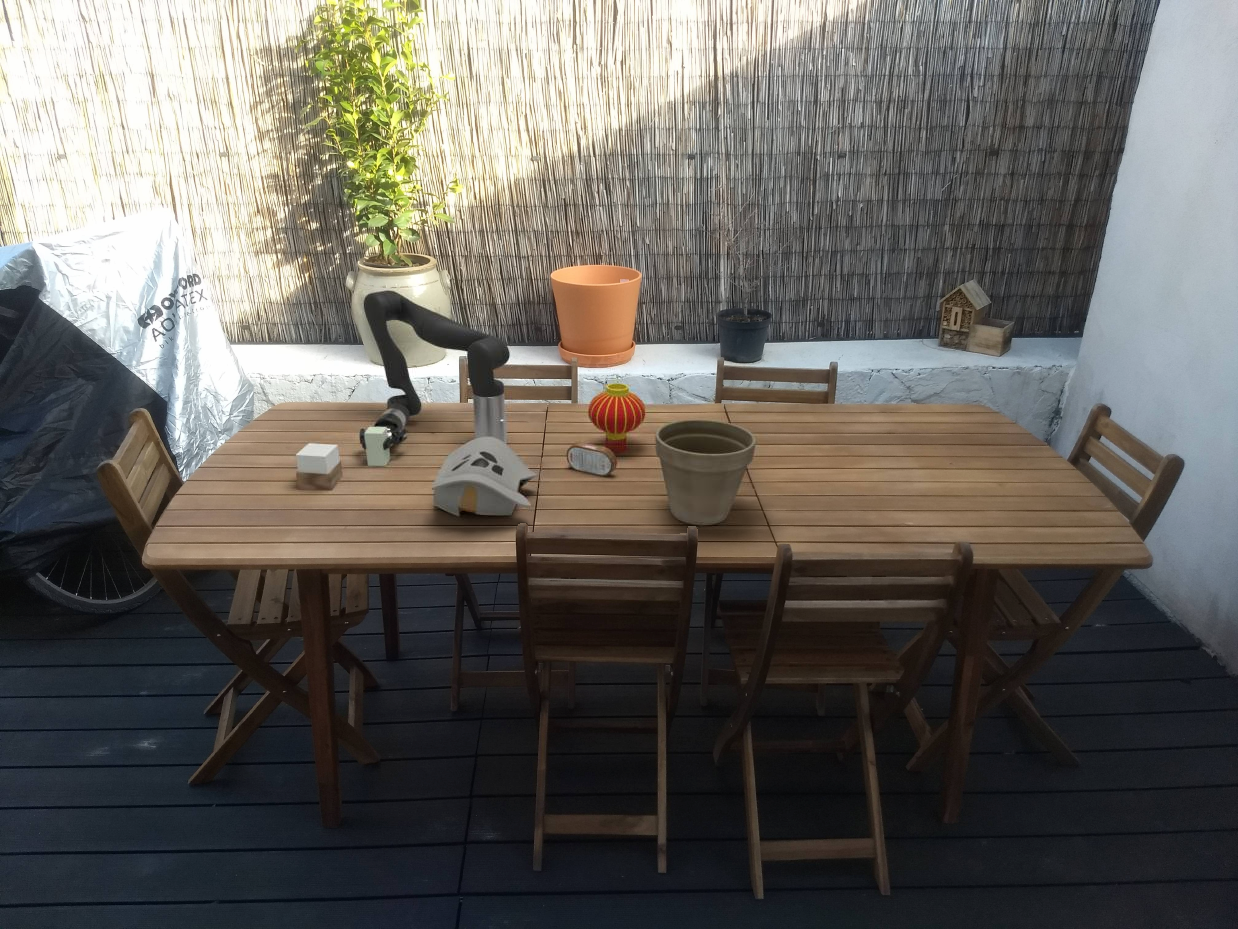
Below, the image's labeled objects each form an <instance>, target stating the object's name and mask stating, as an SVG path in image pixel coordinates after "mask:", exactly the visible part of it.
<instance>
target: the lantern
mask: <svg viewBox="0 0 1238 929" xmlns="http://www.w3.org/2000/svg"><path fill="white" fill-rule="evenodd" d="M617 357H619V353H618V354H617ZM616 379H617V381H616V383H615V382H614V383H609V384H607V385H606V387H605V388H606V389H605V391H602V392H600V393H598V394H597V395H595V396H594V397H593V398H592V399H591V401H590V402H589V405H588V411H587V415H588V419H589V421H590V422H591V423H592V425H594V426H595V427H596V429H598V430H600V431H603V432H605V447H606V448H608V449H609V450H611V451H612V452H613V453H614V454H623V453H625V452H626V450H627V436H628V433H630V432H632V431H635V430H636V429H638V428H639V427H640V425H642V423H643V422H644V421H645V418H646V406H645V403H644V402H643V400H642V399H641V398H640V397H639V396H638V395H637V394H635V393H633V392H631V391H630V390H629V388H630V387H629V385H627V384H625V383H619V375H617V378H616Z"/></svg>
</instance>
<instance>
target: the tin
mask: <svg viewBox="0 0 1238 929" xmlns="http://www.w3.org/2000/svg"><path fill="white" fill-rule="evenodd" d="M566 461H567V463H568V465H569V466H570V468H572V469H573V470H575V471H577V472H581V473H586V474H591V475H595V476H599V477H606V476H609V475H610V474H612V473H613V472H614V471H615V470H616V468H617V466H618V462H617V456H616V455H615V452H614V453H613V450H612V451H611V449H610V448H609V449H608V448H606V446H605V447H604V446H601V445H596V444H591V443H587V442H582V441H577V442H574V443H573V444H571V446H569V448H568V449H567V450H566Z"/></svg>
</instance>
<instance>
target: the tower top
mask: <svg viewBox="0 0 1238 929" xmlns="http://www.w3.org/2000/svg"><path fill="white" fill-rule="evenodd" d="M295 458H296V466H297V471H298V472H303V473H319V474H328V473H329V472H330V471H331V470H332V469H333V468H334V467H335V466H336V465H337V464H338V463H339V462H340V460H341V459H340V452H339V445H338V444H329V443H328V444H327V443H311V442H309V443H308V444H306V445H305V446H304V447H303V448H302V449H301V450H299V451H298V452H297V453H296V454H295Z"/></svg>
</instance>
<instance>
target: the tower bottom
mask: <svg viewBox="0 0 1238 929" xmlns="http://www.w3.org/2000/svg"><path fill="white" fill-rule="evenodd" d="M295 475H296V477H295V478H296V482H297V490H298V491H299V490H300V491H334V489H335V487H336V486H337V485H338V483H339V482H340V481H341V479H342V478H343V477H344V476H343V467H342V461H341V459H340V462H339V463H338V464H337V465H336V466H335V467H334V468H333V469H332V470H331V471H330V472H329V473H328V474H319V473H303V472H298V470H297V471H296V473H295Z"/></svg>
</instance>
